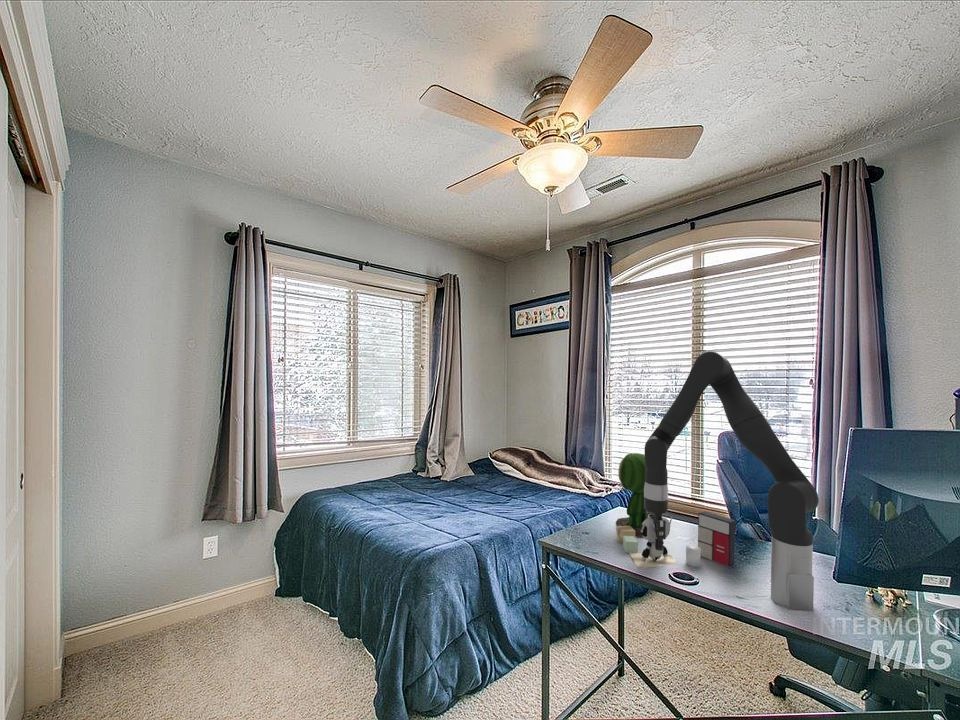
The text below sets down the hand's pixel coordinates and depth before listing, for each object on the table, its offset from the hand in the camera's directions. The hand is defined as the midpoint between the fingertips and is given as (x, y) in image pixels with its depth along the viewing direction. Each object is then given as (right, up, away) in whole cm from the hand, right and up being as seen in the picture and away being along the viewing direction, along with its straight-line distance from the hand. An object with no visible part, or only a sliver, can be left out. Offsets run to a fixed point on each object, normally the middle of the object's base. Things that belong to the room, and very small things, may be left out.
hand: (655, 544), depth 148 cm
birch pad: (0, -6, 0) cm, 6 cm away
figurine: (+5, -6, +30) cm, 31 cm away
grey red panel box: (+21, -7, +2) cm, 22 cm away
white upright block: (+12, -6, -2) cm, 13 cm away
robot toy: (0, -6, +1) cm, 6 cm away
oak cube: (-4, -6, +17) cm, 19 cm away
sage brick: (-5, -6, +10) cm, 13 cm away
